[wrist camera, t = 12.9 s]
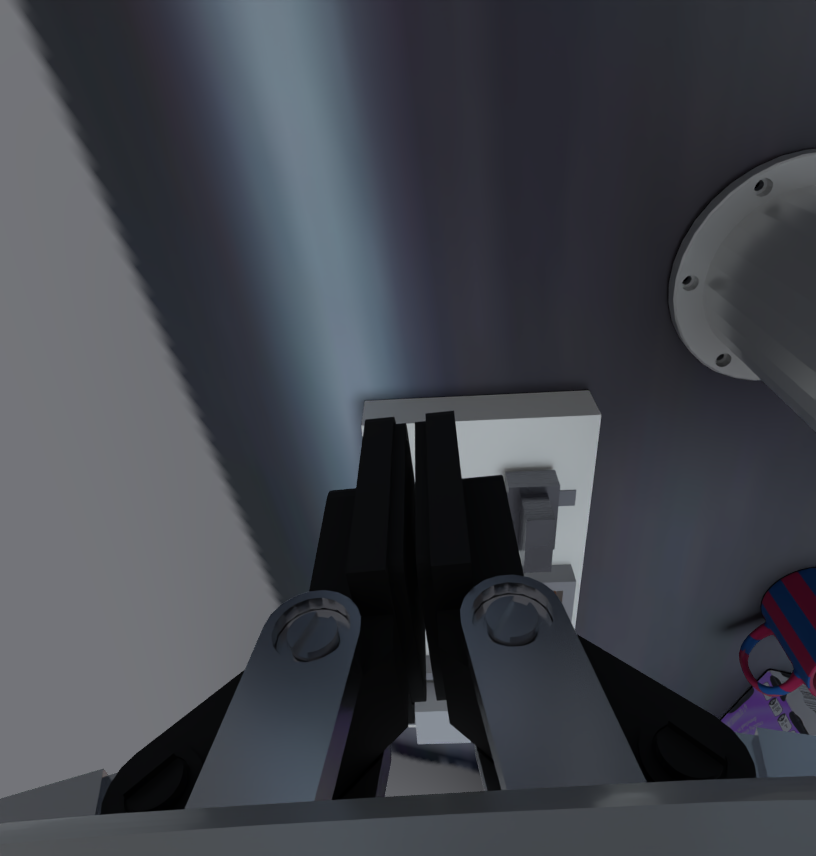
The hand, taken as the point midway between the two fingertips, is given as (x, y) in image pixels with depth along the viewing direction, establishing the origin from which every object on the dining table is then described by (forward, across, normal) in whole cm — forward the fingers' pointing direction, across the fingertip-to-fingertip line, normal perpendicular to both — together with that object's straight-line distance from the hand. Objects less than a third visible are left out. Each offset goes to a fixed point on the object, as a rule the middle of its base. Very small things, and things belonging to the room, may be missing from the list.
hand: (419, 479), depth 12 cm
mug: (+24, -25, +33) cm, 48 cm away
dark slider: (+21, -5, +18) cm, 28 cm away
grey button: (+20, +2, +36) cm, 41 cm away
